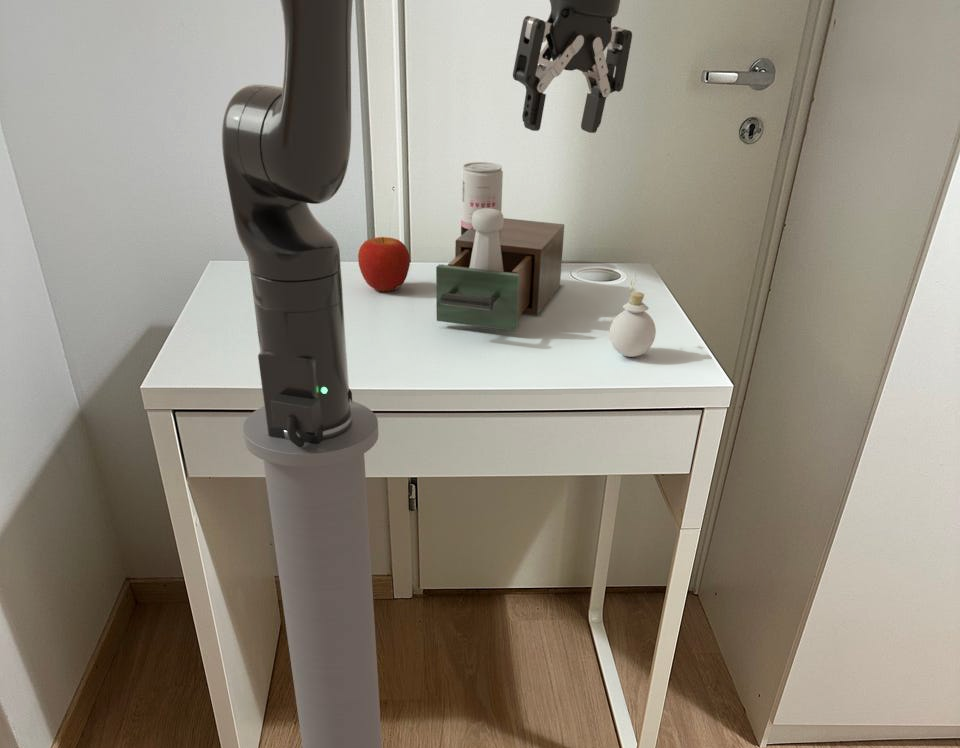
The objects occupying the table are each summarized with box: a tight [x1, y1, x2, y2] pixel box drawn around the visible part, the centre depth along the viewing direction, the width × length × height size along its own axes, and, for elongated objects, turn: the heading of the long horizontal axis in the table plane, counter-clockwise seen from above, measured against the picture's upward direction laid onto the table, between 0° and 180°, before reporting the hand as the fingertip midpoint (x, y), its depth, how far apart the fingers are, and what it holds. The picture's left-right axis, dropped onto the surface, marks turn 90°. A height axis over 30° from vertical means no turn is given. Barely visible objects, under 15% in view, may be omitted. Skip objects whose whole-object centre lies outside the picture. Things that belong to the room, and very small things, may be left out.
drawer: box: [435, 248, 535, 332], centre depth 128 cm, size 18×12×7 cm, turn 163°
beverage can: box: [460, 161, 504, 236], centre depth 149 cm, size 7×7×15 cm
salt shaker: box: [469, 208, 504, 272], centre depth 126 cm, size 6×6×13 cm
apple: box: [357, 236, 411, 293], centre depth 140 cm, size 8×8×8 cm
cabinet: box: [454, 217, 565, 316], centre depth 138 cm, size 15×13×9 cm
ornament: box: [609, 274, 657, 358], centre depth 120 cm, size 6×7×10 cm
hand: (560, 130), depth 105 cm, fingers open, 8 cm apart
